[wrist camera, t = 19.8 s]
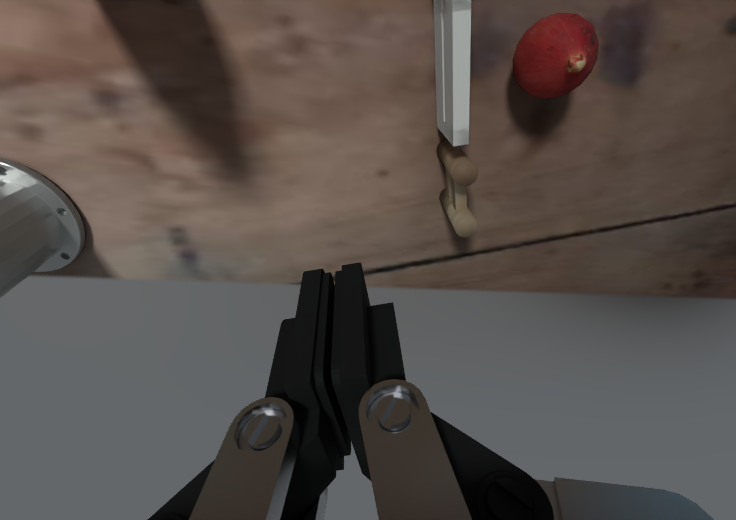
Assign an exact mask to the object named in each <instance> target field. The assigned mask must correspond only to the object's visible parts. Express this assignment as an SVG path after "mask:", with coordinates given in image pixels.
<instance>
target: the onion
mask: <svg viewBox="0 0 736 520" xmlns="http://www.w3.org/2000/svg"><path fill="white" fill-rule="evenodd" d="M597 54H598V39H597V36H596V33H595V30H594V27H593V25H592V24H591V23H589V22H588V21H587V20H585V19H584V18H582V17H581V16H580V15H578V14H569V13H556V14H554V15H551V16H548V17H546V18H543V19H541V20H539V21H538V22H537V23H535V24H534V25H533V26H532V27H530V28H529V29H528V30H527V31H526V32H525V33H524V35H523V37H522V38H521V40H520V41H519V43H518V44H517V47H516V51H515V54H514V58H513V72H514V76H515V78H516V80H517V82H518V84H519V86H520V87H521V88H522V89H524V90H525V91H526V92H527V93H529V94H530V95H531V96H535V97H541V98H548V99H551V98H554V97H558V96H561V95H564V94H568V93H569V92H570V91H572V90H573V89H575V88H576V87H578V86H579V85H580V84H581V83H582V82H583V81H584V80H585V79H586V78H587V76H588V75H589V74H590V73H591V71H592V69H593V67H594V65H595V62H596V60H597Z"/></svg>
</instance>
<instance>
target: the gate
mask: <svg viewBox="0 0 736 520" xmlns="http://www.w3.org/2000/svg"><path fill="white" fill-rule="evenodd" d="M433 1H434V34H435V68H436V102H437V127H438V129H439V130H440V131H441V132H442V133H443V135H444V136H445V137H446V138H447V139H448V141H449V142H450V143H451V144H452V145H453V146H460V145H466V144H469V96H470V36H471V0H433Z"/></svg>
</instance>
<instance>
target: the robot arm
mask: <svg viewBox="0 0 736 520" xmlns="http://www.w3.org/2000/svg"><path fill="white" fill-rule="evenodd" d="M84 244H85V230H84V225H83V222H82V219H81V217H80V214H79V213H78V211H77V210H76V208H75V206H74V205H73V203H72V202H71V201H70V200H69V199H68V197H67V196H66V195H65V194H64V193H63V192H62V191H61V190H60V189H59V188H58V187H57V186H56V185H54V184H53V183H52V182H51V181H49V180H48V179H46V178H45V177H43V176H42V175H41V174H39V173H37V172H35V171H33V170H32V169H30V168H28V167H26V166H23V165H21V164H18V163H16V162H13V161H10V160H6V159H2V158H0V298H1V297H2V296H4V295H5V294H6V293H7V292H9V291H10V290H11V289H12V288H14V287H15V286H16V285H17V284H18V283H20V282H21V281H22V280H24V279H25V278H26V277H27V276H29V275H30V274H31V273H32V272H49V271H54V270H58V269H61V268H63V267H65V266H67V265H68V264H70V263H71V262H72V261H73V260H74V259H75V258H77V256H78V255H79V254H80V253H81V251H82V249H83V246H84ZM351 441H352V444H353V447H354V450H355V453H356V456H357V459H358V462H359V465H360V468H361V471H362V473H363V474H364V475H365V476H366V477H367V478H368V479H369V480H371V482H372V487H373V492H374V496H375V502H376V507H377V512H378V517H379V520H713V518H712V517H711V516H709V515H708V514H707V513H706V512H705V511H704V510H703V509H702V508H700V507H699V506H698V505H697V504H696V503H694V502H692V501H691V500H689V499H687V498H685V497H684V496H682V495H680V494H677V493H674V492H670V491H666V490H663V489H662V490H661V489H654V488H644V487H636V486H627V485H618V484H609V483H600V482H592V481H583V480H574V479H565V478H557V477H555V478H554V482H553V481H544V480H535V479H533V478H532V477H531V476H530V475H528V474H527V473H526V472H524V471H523V470H521V469H520V468H518V467H516V466H515V465H513V464H512V463H510V462H509V461H507V460H505V459H504V458H502V457H501V456H499V455H498V454H496V453H494V452H493V451H491V450H490V449H488V448H486V447H485V446H483V445H482V444H480V443H479V442H477V441H475V440H474V439H472V438H471V437H469V436H468V435H466V434H465V433H463V432H461V431H460V430H458V429H457V428H455V427H453V426H452V425H450V424H449V423H447V422H446V421H444V420H443V419H441V418H439V417H438V416H436V415H435V414H433V413H432V412H430V410H429V407H428V405H427V402H426V399H425V397H424V396H423V394H422V392H421V391H420V390H419V389H418V388H417V387H416V386H415V385H413V384H412V383H409V382H407V381H406V379H405V373H404V367H403V360H402V354H401V348H400V342H399V336H398V330H397V324H396V317H395V311H394V306H393V303H387V304H381V305H374V306H370V302H369V298H368V293H367V288H366V284H365V279H364V274H363V269H362V265H361V262H360V263H354V264H348V265H342V271H336V273H335V285H334V281H333V277H332V274H331V273H330V272H329V273H325V272H324V270H323V269H317V270H311V271H305V272H304V273H303V277H302V283H301V289H300V295H299V300H298V306H297V311H296V317H295V318H291V319H285V320H283V321H282V323H281V327H280V332H279V336H278V340H277V345H276V350H275V354H274V359H273V364H272V368H271V372H270V377H269V382H268V386H267V391H266V396H265V398H262V399H259V400H257V401H254V402H252V403H251V404H249V405H248V406H246V407H245V408H244V409H242V410H241V411H240V412H239V414H238V415H237V416H236V417H235V418H234V420H233V422H232V423H231V425H230V427H229V429H228V431H227V434H226V436H225V438H224V440H223V443H222V445H221V447H220V450H219V452H218V454H217V456H216V459H215V460H214V461H213V462H212V463H211V464H209V465H208V466H207V467H206V468H205V469H204V470H203V471H202V472H201V473H199V474H198V475H197V476H196V477H195V478H194V479H193V480H192V481H190V482H189V483H188V484H187V485H186V486H185V487H184V488H183V489H181V490H180V491H179V492H178V493H177V494H176V495H175V496H174V497H173V498H171V499H170V500H169V501H168V502H167V503H166V504H165V505H164V506H163V507H162V508H160V509H159V510H158V511H157V512H156V513H155V514H154V515H152V516H151V517H150V518H149V519H148V520H323V519H324V513H325V508H326V502H327V487H328V485H329V484H330V483H331V482H332V481H333V480H334V479H335V477H336V470H343V469H344V456H346V455H350V454H351Z"/></svg>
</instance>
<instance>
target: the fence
mask: <svg viewBox="0 0 736 520" xmlns="http://www.w3.org/2000/svg"><path fill="white" fill-rule="evenodd" d="M436 152H437V155H438V157H439V158H440V160H441V161H442V163H443V164H444V166H445V171H446V188H445V189H444V190H443V191H442V192H441V193H440V196H439V199H440V202H441V204H442V206H443V207H444V209H445V211H446V213H447V215H448V217H449V219H450V221H451V223H452V225H453V227H454V229H455V231H456V233H457V234H458V235H459V236H460V237H463V238H466V237H470V236H472V235H474V234H475V233H476V231H477V229H478V223H477V221H476V220H475V218H474V217H473V215H472V214H471V212H470V210H469V209H468V207H467V192H466V186H469V185H471V184H472V183H474V182H475V180H476V179H477V176H478V169H477V167H476V166H475V165H474V164H473V163H472V161H471V160H470V159H469V158H468V157H467V156H466V155H465V153H464V152H463V151H462V150H461V149H460V148H459V147H458V146H453V145H452V144H451V143H450V142H449V141H448V139H446V140H443V141H441V142H440V143H439V144H438V146H437V150H436Z"/></svg>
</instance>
